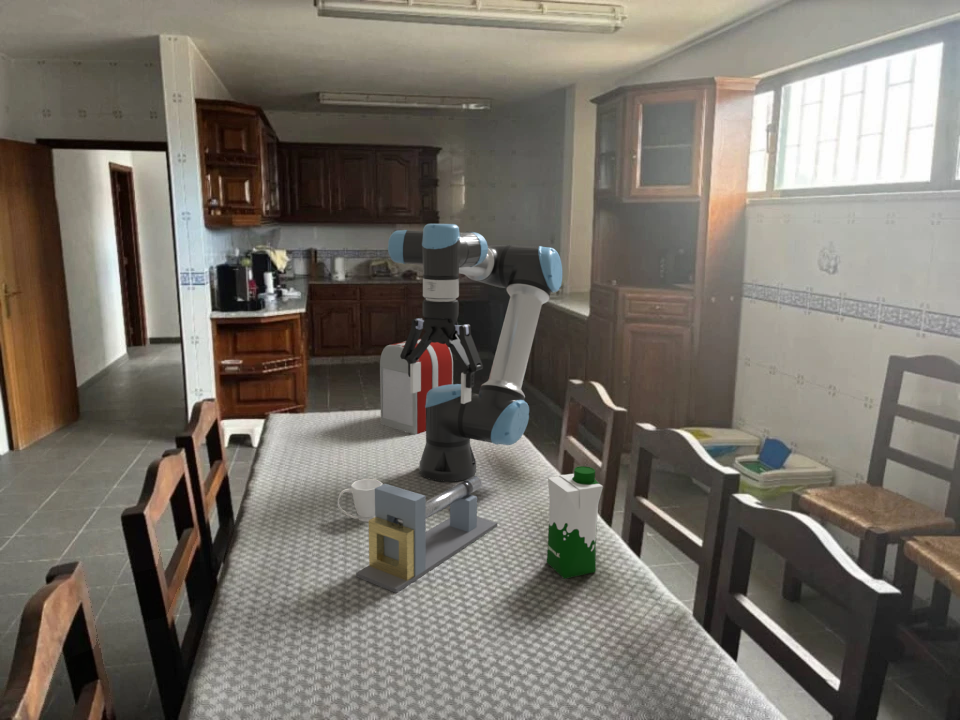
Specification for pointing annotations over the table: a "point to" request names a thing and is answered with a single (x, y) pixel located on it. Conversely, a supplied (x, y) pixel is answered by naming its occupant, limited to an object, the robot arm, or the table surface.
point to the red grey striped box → (395, 385)
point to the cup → (363, 498)
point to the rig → (424, 533)
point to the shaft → (449, 497)
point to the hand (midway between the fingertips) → (440, 397)
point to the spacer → (406, 548)
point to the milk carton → (573, 522)
